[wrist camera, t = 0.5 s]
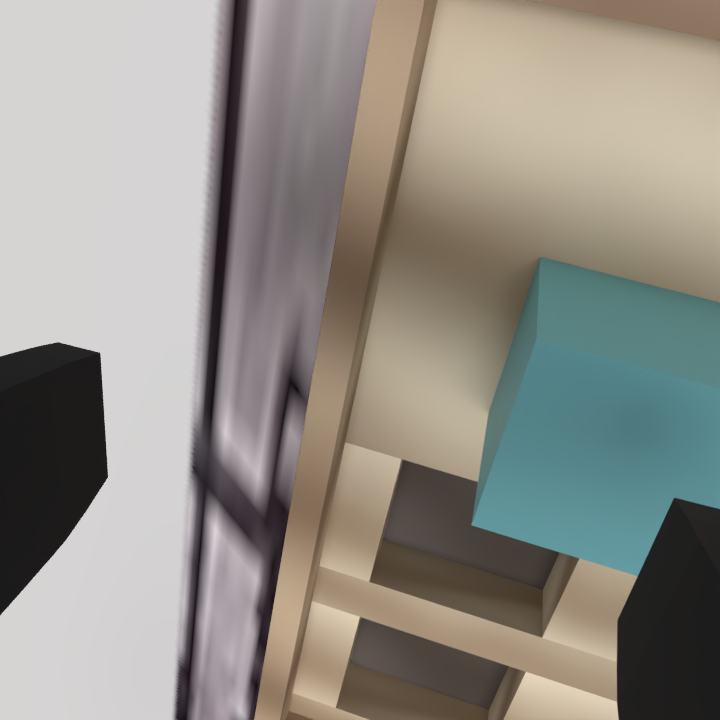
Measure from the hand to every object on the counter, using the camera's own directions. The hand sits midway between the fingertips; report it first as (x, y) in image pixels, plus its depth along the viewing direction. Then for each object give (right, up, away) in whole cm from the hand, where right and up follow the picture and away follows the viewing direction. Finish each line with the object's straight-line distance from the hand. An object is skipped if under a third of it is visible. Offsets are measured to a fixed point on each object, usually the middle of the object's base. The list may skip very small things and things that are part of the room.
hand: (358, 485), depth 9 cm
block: (+5, +1, +6) cm, 8 cm away
